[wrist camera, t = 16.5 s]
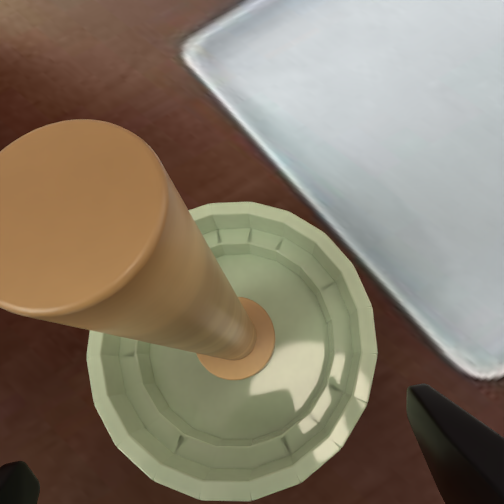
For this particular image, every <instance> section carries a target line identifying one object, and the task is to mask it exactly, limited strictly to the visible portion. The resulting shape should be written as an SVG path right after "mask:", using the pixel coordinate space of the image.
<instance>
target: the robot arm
mask: <svg viewBox="0 0 504 504" xmlns="http://www.w3.org/2000/svg"><path fill="white" fill-rule="evenodd" d="M407 416H408V419H409V422H410V425H411V427H412V429H413V432H414V434H415V436H416V439H417V441H418V443H419V446H420V448H421V450H422V453H423V455H424V457H425V460H426V462H427V464H428V467H429V469H430V471H431V474H432V476H433V478H434V481H435V483H436V485H437V487H438V490H439V492H440V494H441V496H442V498H443V500H444V502H445V504H504V438H503V437H502V436H500V435H499V434H497V433H496V432H495V431H493V430H492V429H490V428H489V427H487V426H486V425H485V424H483V423H482V422H480V421H479V420H477V419H476V418H475V417H473V416H472V415H470V414H469V413H468V412H466V411H465V410H463V409H462V408H460V407H459V406H458V405H456V404H455V403H453V402H452V401H450V400H449V399H448V398H446V397H445V396H443V395H442V394H440V393H439V392H438V391H436V390H435V389H433V388H432V387H430V386H429V385H427V384H418V385H413V386H409V387H408V389H407ZM39 492H40V484H39V481H38V479H37V478H36V476H35V475H34V474H33V472H32V471H31V470H30V468H29V467H28V465H27V464H26V463H25V462H23V461H18V462H12V463H7V464H5V465H3V466H1V467H0V504H37V501H38V497H39Z"/></svg>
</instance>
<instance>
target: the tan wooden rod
mask: <svg viewBox="0 0 504 504" xmlns="http://www.w3.org/2000/svg"><path fill="white" fill-rule="evenodd" d="M0 308H2V309H4V310H6V311H9V312H12V313H15V314H18V315H22V316H26V317H31V318H36V319H40V320H45V321H50V322H54V323H59V324H64V325H68V326H73V327H77V328H82V329H87V330H91V331H96V332H101V333H105V334H110V335H115V336H119V337H124V338H129V339H133V340H138V341H143V342H147V343H152V344H156V345H161V346H166V347H170V348H175V349H180V350H184V351H189V352H194V353H196V354H197V357H198V359H199V361H200V362H201V364H202V365H203V366H204V367H205V368H206V369H207V370H208V371H209V372H210V373H212V374H213V375H215V376H217V377H219V378H222V379H226V380H242V379H246V378H250V377H252V376H254V375H256V374H258V373H259V372H260V371H262V370H263V369H264V368H265V367H266V365H267V364H268V363H269V361H270V359H271V358H272V355H273V353H274V349H275V330H274V326H273V323H272V320H271V318H270V316H269V315H268V313H267V312H266V311H265V309H264V308H263V307H262V306H260V305H259V304H258V303H256V302H254V301H253V300H250V299H248V298H244V297H237V295H236V293H235V291H234V290H233V288H232V286H231V284H230V283H229V281H228V279H227V277H226V276H225V274H224V272H223V270H222V269H221V267H220V265H219V263H218V261H217V260H216V258H215V256H214V254H213V253H212V251H211V249H210V247H209V246H208V244H207V242H206V240H205V239H204V237H203V235H202V233H201V232H200V230H199V228H198V226H197V225H196V223H195V221H194V219H193V218H192V216H191V214H190V212H189V211H188V209H187V207H186V205H185V204H184V202H183V200H182V198H181V197H180V195H179V193H178V191H177V189H176V188H175V186H174V184H173V182H172V181H171V179H170V177H169V175H168V174H167V172H166V170H165V168H164V167H163V165H162V163H161V161H160V160H159V158H158V156H157V155H156V153H155V152H154V151H153V150H152V148H151V147H150V146H149V145H148V144H147V143H146V142H145V141H144V140H142V139H141V138H140V137H138V136H137V135H135V134H134V133H132V132H130V131H128V130H126V129H124V128H122V127H120V126H118V125H115V124H112V123H109V122H104V121H99V120H90V119H77V120H67V121H61V122H57V123H53V124H49V125H46V126H43V127H41V128H38V129H35V130H33V131H31V132H29V133H27V134H25V135H23V136H22V137H20V138H18V139H17V140H15V141H14V142H12V143H11V144H9V145H8V146H7V147H5V148H4V149H3V150H2V151H0Z"/></svg>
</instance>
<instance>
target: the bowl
mask: <svg viewBox="0 0 504 504" xmlns="http://www.w3.org/2000/svg"><path fill="white" fill-rule="evenodd" d="M188 211H189V212H190V214H191V216H192V218H193V219H194V221H195V223H196V225H197V226H198V228H199V230H200V232H201V233H202V235H203V237H204V239H205V240H206V242H207V244H208V246H209V247H210V249H211V251H212V253H213V254H214V256H215V258H216V260H217V261H218V263H219V265H220V267H221V269H222V270H223V272H224V274H225V276H226V277H227V279H228V281H229V283H230V284H231V286H232V288H233V290H234V291H235V293H236V295H237V297H244V298H248V299H250V300H253V301H254V302H256V303H258V304H259V305H260V306H262V307H263V308H264V309H265V311H266V312H267V313H268V315H269V316H270V318H271V320H272V323H273V326H274V330H275V349H274V353H273V355H272V358H271V359H270V361H269V363H268V364H267V365H266V367H265V368H264V369H263V370H262V371H260V372H259V373H258V374H256V375H254V376H252V377H250V378H246V379H242V380H226V379H222V378H219V377H217V376H215V375H213V374H212V373H210V372H209V371H208V370H207V369H206V368H205V367H204V366H203V365H202V364H201V362H200V361H199V359H198V357H197V354H196V353H194V352H189V351H184V350H180V349H175V348H170V347H166V346H161V345H156V344H152V343H147V342H143V341H138V340H133V339H129V338H124V337H119V336H115V335H110V334H105V333H101V332H96V331H91V330H90V334H89V341H88V348H87V365H88V371H89V377H90V383H91V389H92V396H93V402H94V403H95V404H94V405H95V407H96V409H97V411H98V413H99V415H100V417H101V419H102V421H103V423H104V425H105V426H106V428H107V430H108V432H109V434H110V436H111V438H112V440H113V442H114V444H115V446H117V448H118V449H119V450H120V451H121V452H122V453H123V454H125V455H126V456H127V457H128V458H129V459H130V460H131V461H132V462H133V463H134V464H135V465H136V466H137V467H139V468H140V469H141V470H142V471H143V472H144V473H145V474H146V475H147V476H148V477H149V478H150V479H151V480H154V481H155V482H157V483H159V484H162V485H164V486H167V487H169V488H171V489H174V490H176V491H179V492H181V493H184V494H186V495H188V496H191V497H193V498H196V499H200V500H202V501H252V500H257V499H259V498H262V497H265V496H268V495H270V494H273V493H276V492H279V491H281V490H284V489H287V488H290V487H292V486H295V485H298V484H300V483H301V482H303V481H305V480H306V479H307V478H308V477H309V476H310V475H312V474H313V473H314V472H315V471H316V470H318V469H319V468H320V467H321V466H322V465H323V464H325V463H326V462H327V461H328V460H329V459H330V458H332V457H333V456H334V455H335V454H336V453H337V452H339V451H340V449H341V448H342V447H343V446H344V444H345V442H346V441H347V439H348V437H349V436H350V434H351V432H352V430H353V429H354V427H355V425H356V424H357V422H358V420H359V418H360V417H361V415H362V413H363V411H364V410H365V408H366V406H367V403H368V401H369V396H370V391H371V386H372V381H373V376H374V371H375V366H376V361H377V354H378V350H377V341H376V333H375V324H374V315H373V308H372V305H371V303H370V300H369V298H368V296H367V294H366V291H365V289H364V287H363V285H362V283H361V280H360V278H359V276H358V274H357V271H356V269H355V267H354V266H353V264H352V263H351V262H350V261H349V259H348V258H347V257H346V256H345V255H344V254H343V253H342V252H341V250H340V249H339V248H338V247H337V246H336V245H335V244H334V243H333V241H332V240H331V239H330V238H329V237H328V236H327V235H326V234H324V232H323V231H321V230H319V229H318V228H316V227H314V226H313V225H311V224H309V223H308V222H306V221H304V220H303V219H301V218H299V217H298V216H296V215H294V214H293V213H291V212H289V211H286V210H282V209H278V208H274V207H270V206H266V205H262V204H258V203H254V202H229V203H211V204H206V205H203V206H200V207H197V208H194V209H191V210H188Z"/></svg>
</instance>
